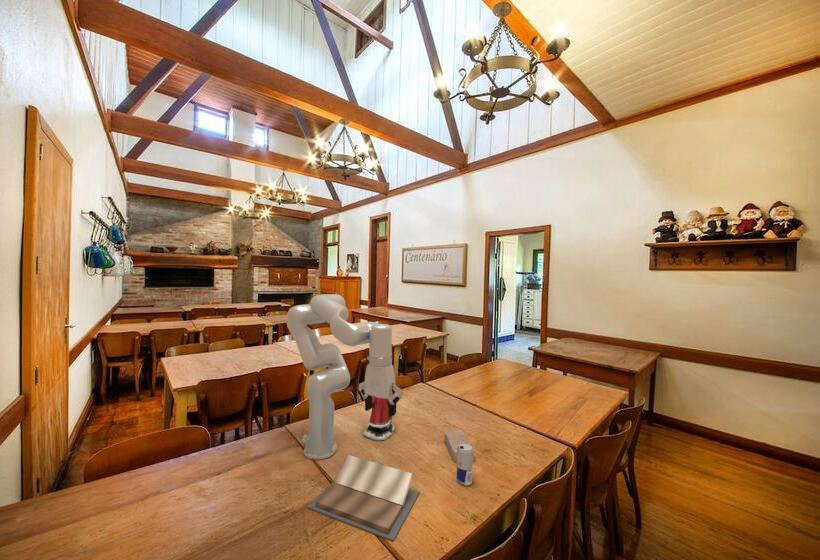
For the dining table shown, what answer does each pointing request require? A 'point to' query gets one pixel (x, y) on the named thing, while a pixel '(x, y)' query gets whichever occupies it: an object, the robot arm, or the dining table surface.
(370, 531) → the underlay mat
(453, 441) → the brick
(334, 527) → the dining table surface
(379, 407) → the santa figurine
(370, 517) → the laid plank
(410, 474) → the loose plank
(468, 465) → the energy drink
